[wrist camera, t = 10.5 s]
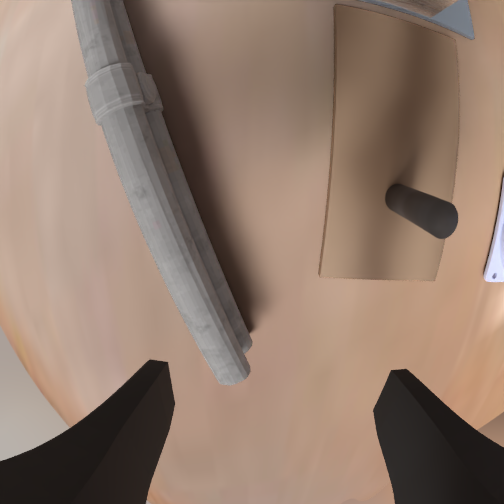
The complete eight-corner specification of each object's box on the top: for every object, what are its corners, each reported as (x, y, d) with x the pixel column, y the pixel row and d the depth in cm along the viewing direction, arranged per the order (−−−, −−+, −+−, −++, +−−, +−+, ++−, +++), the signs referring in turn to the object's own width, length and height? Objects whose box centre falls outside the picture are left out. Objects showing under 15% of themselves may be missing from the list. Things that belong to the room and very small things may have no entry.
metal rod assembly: (258, 330, 19) (256, 383, 15) (220, 340, 20) (208, 392, 15) (127, -21, 11) (94, -54, 7) (92, -1, 12) (52, -26, 7)
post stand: (450, 41, 12) (502, 20, 6) (430, 277, 17) (474, 321, 12) (333, 8, 12) (359, -40, 7) (318, 273, 17) (337, 326, 12)
